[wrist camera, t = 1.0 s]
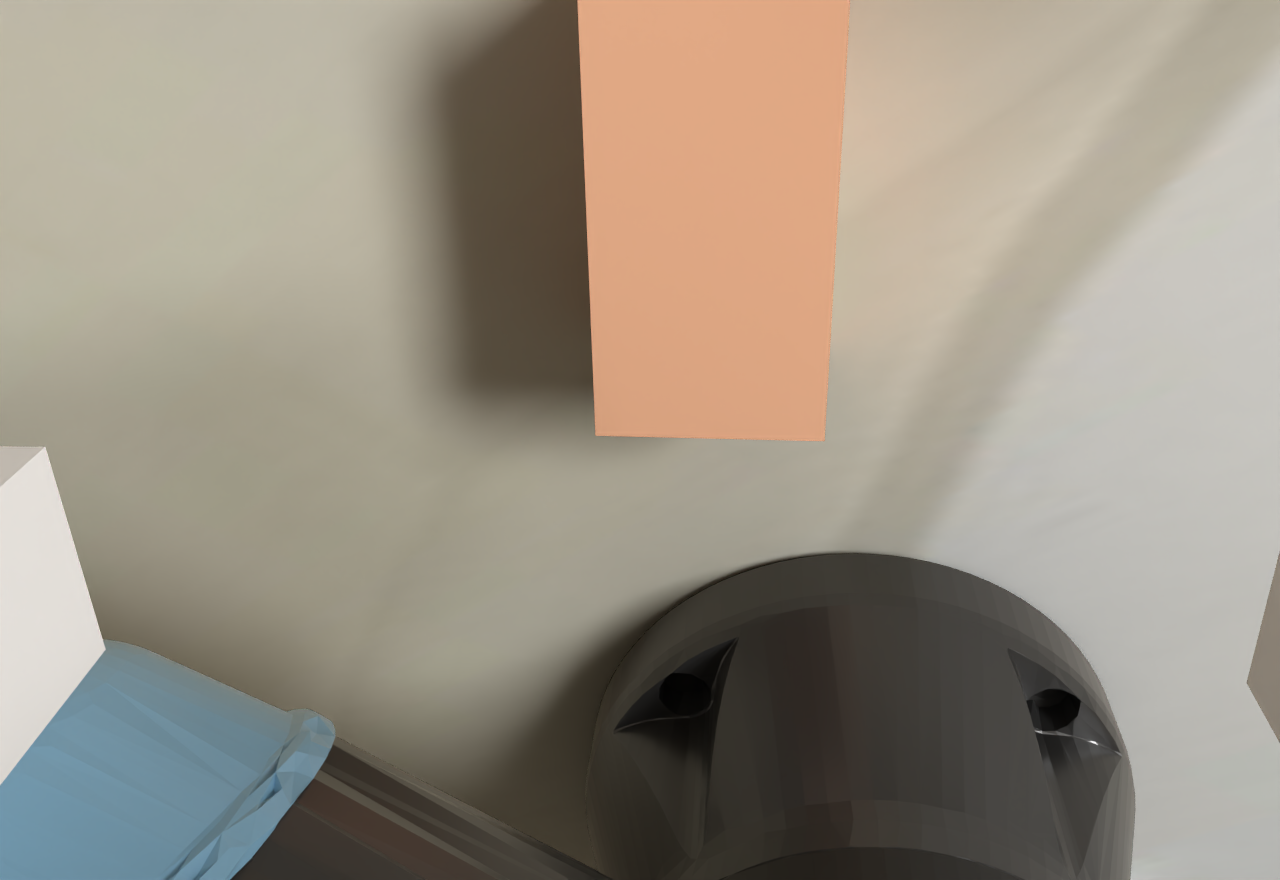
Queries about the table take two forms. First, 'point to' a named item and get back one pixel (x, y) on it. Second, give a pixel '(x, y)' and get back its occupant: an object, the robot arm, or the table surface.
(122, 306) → the table surface
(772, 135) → the block
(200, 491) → the table surface
